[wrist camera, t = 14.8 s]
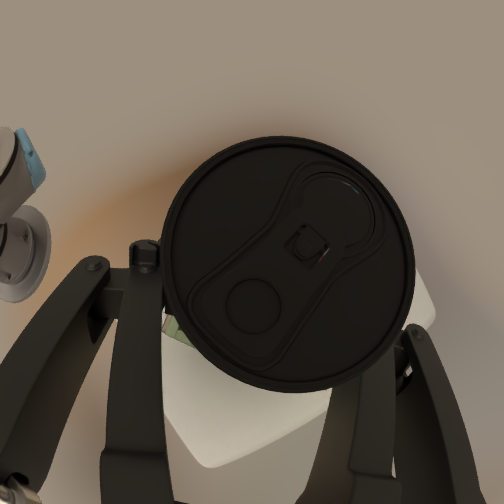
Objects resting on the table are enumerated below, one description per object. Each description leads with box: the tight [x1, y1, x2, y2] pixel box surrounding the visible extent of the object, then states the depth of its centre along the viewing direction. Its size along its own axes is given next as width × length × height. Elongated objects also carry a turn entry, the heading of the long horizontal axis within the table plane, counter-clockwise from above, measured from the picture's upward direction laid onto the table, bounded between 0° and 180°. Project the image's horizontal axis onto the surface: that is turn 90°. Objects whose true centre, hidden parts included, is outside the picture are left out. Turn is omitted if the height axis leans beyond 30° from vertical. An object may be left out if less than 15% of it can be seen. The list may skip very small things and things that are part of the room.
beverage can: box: [160, 136, 416, 393], centre depth 13 cm, size 6×6×15 cm
